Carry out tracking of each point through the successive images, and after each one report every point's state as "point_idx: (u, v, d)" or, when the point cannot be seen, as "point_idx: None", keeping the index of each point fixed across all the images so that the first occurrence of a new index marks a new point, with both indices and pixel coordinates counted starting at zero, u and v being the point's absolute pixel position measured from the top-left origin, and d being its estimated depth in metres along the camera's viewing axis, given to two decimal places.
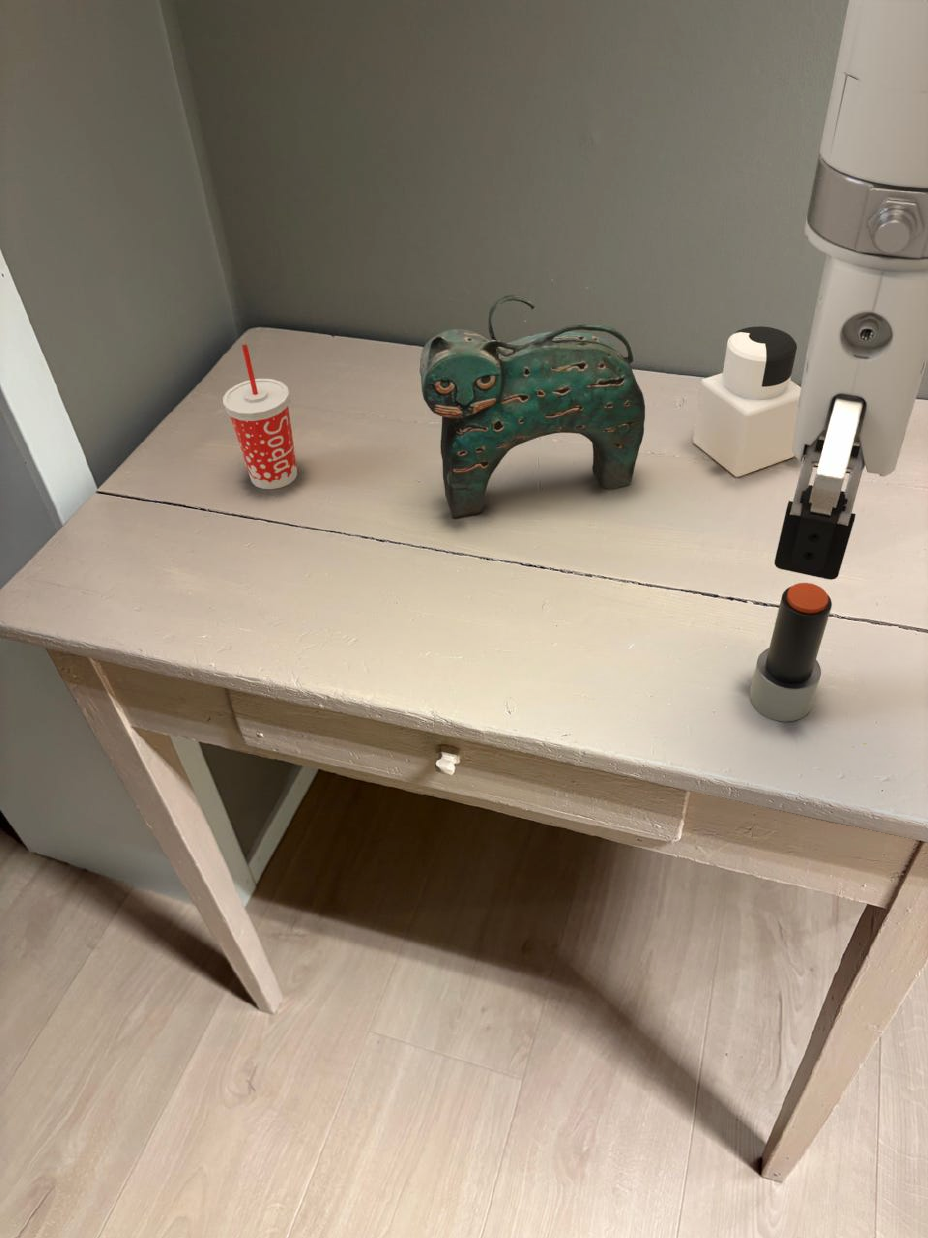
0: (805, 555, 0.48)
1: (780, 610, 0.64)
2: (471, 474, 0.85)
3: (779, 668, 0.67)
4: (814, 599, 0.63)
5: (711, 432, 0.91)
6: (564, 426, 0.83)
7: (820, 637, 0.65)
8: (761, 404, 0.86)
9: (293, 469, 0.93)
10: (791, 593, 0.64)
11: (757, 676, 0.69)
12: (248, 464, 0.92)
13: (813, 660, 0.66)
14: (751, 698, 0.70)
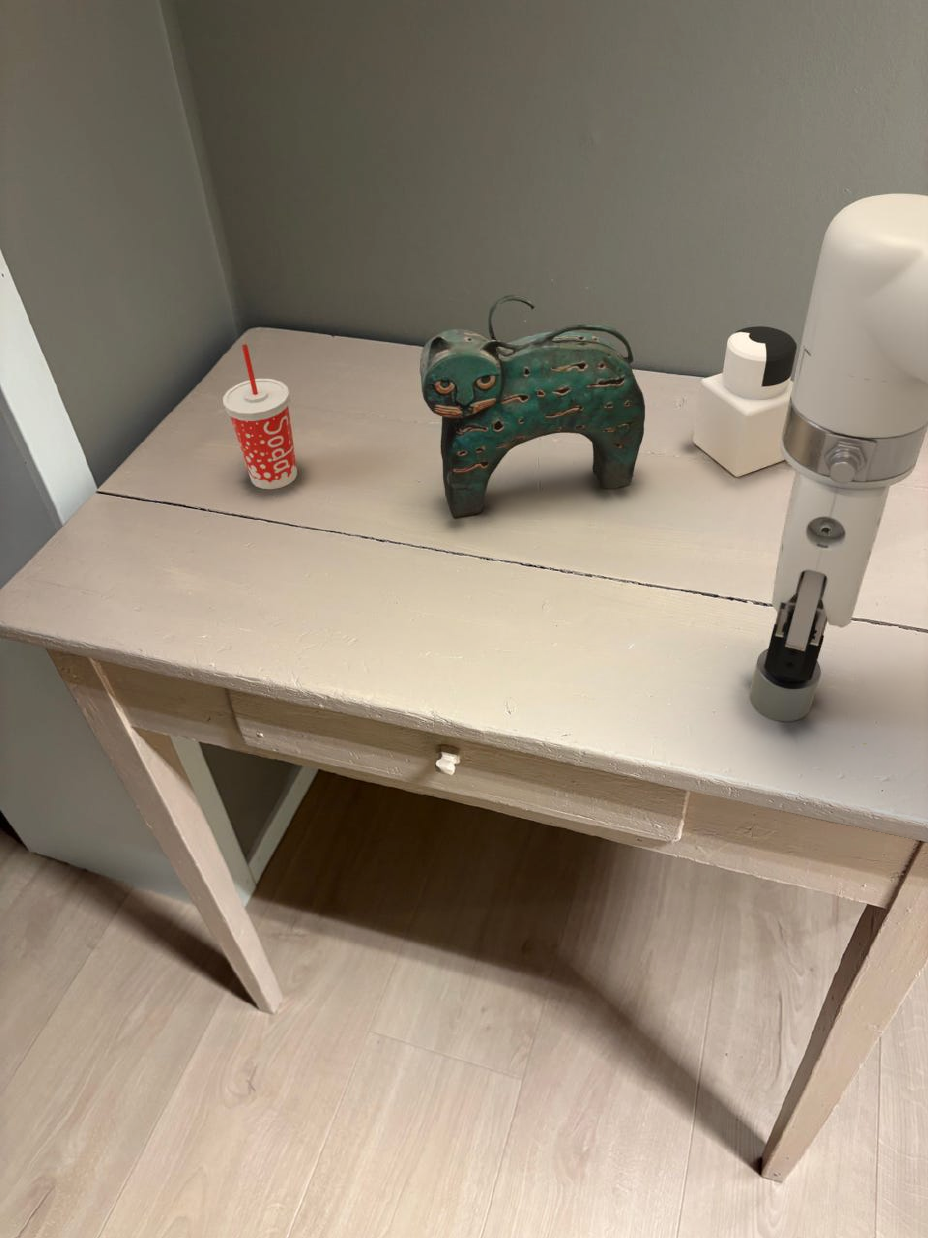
0: (787, 664, 0.64)
1: (780, 610, 0.64)
2: (471, 474, 0.85)
3: None
4: None
5: (711, 431, 0.91)
6: (564, 426, 0.83)
7: None
8: (761, 404, 0.86)
9: (293, 469, 0.93)
10: None
11: (757, 676, 0.69)
12: (248, 464, 0.92)
13: None
14: (751, 698, 0.70)
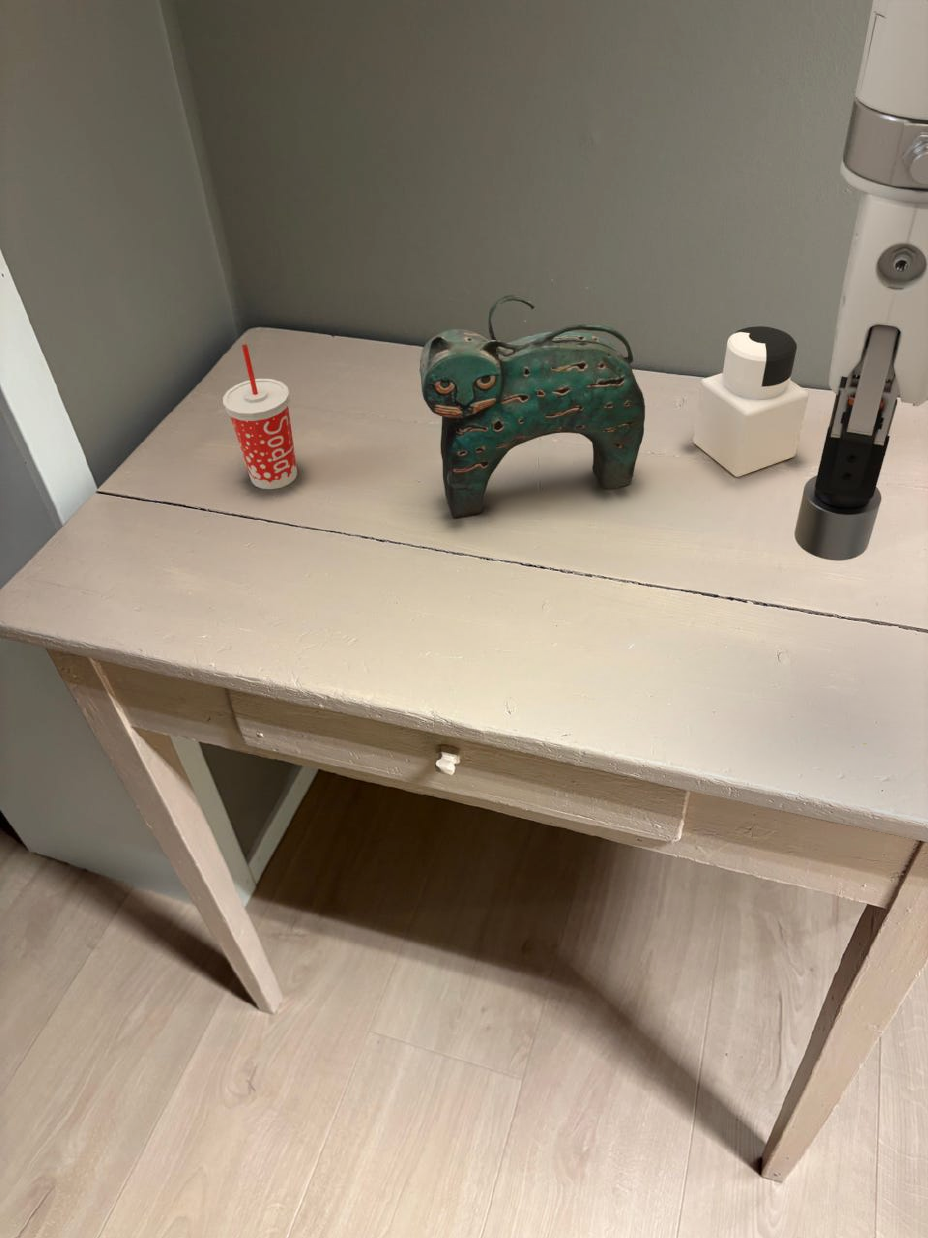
0: (844, 476, 0.53)
1: (834, 412, 0.54)
2: (471, 474, 0.85)
3: None
4: None
5: (711, 431, 0.91)
6: (564, 426, 0.83)
7: None
8: (761, 404, 0.86)
9: (293, 469, 0.93)
10: None
11: (804, 505, 0.58)
12: (248, 464, 0.92)
13: None
14: (797, 537, 0.60)
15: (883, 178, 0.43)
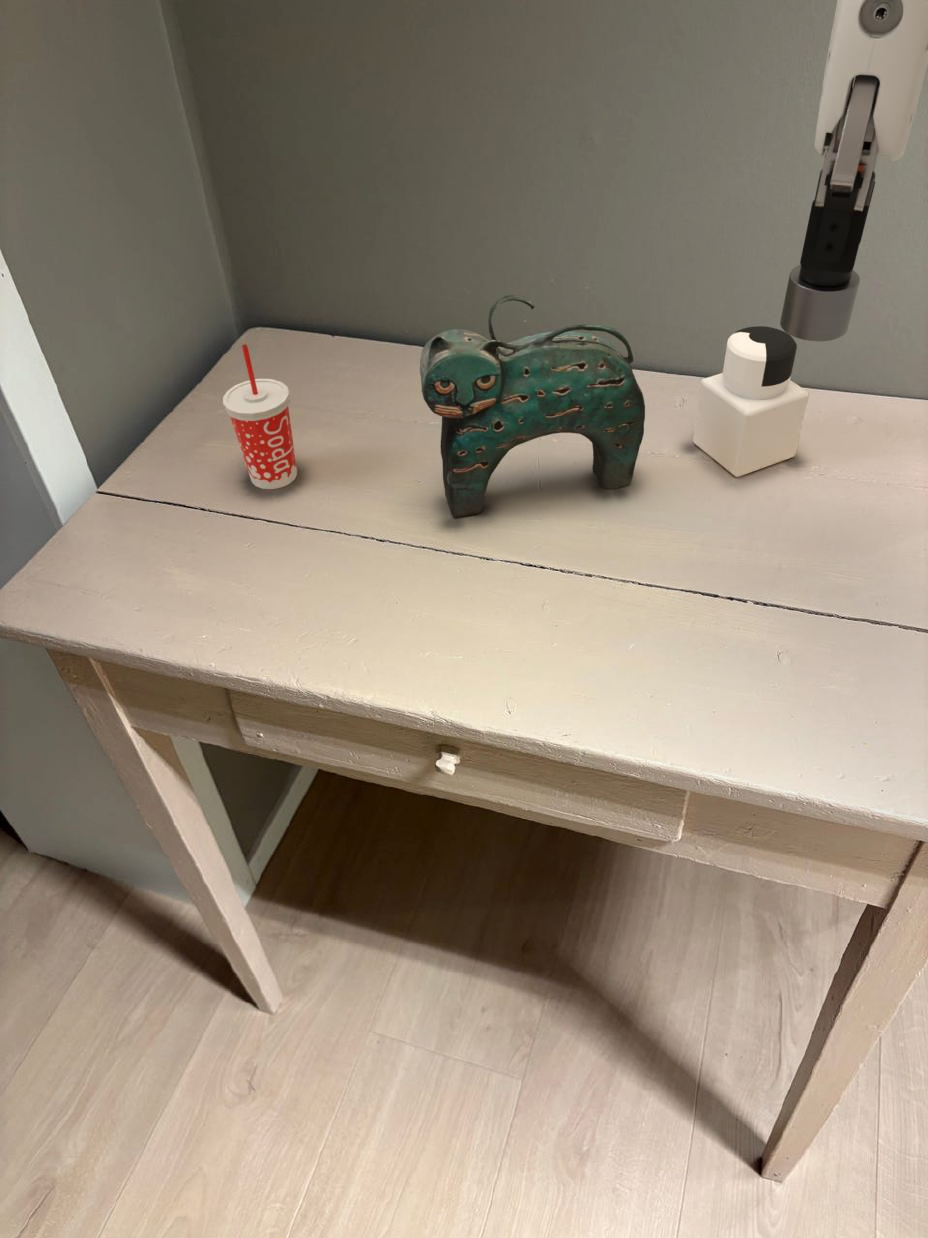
0: (826, 247, 0.59)
1: (818, 188, 0.59)
2: (471, 474, 0.85)
3: None
4: None
5: (711, 431, 0.91)
6: (564, 426, 0.83)
7: None
8: (761, 404, 0.86)
9: (293, 469, 0.93)
10: None
11: (790, 288, 0.63)
12: (248, 464, 0.92)
13: None
14: (782, 323, 0.65)
15: None
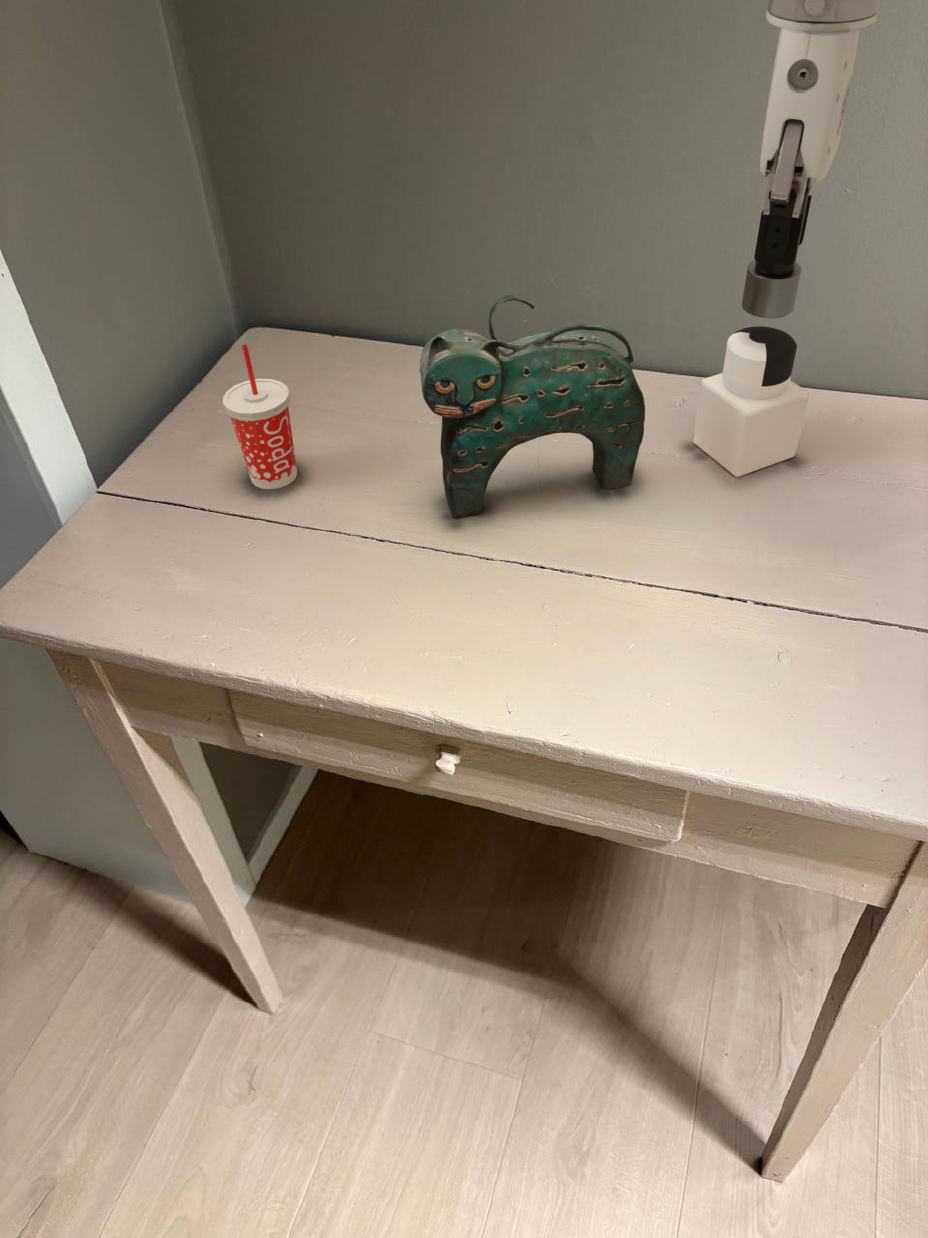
0: (773, 245, 0.77)
1: None
2: (471, 474, 0.85)
3: None
4: (794, 184, 0.76)
5: (711, 431, 0.91)
6: (564, 426, 0.83)
7: None
8: (761, 404, 0.86)
9: (293, 469, 0.93)
10: None
11: (747, 277, 0.81)
12: (248, 464, 0.92)
13: None
14: (743, 304, 0.83)
15: (790, 16, 0.66)
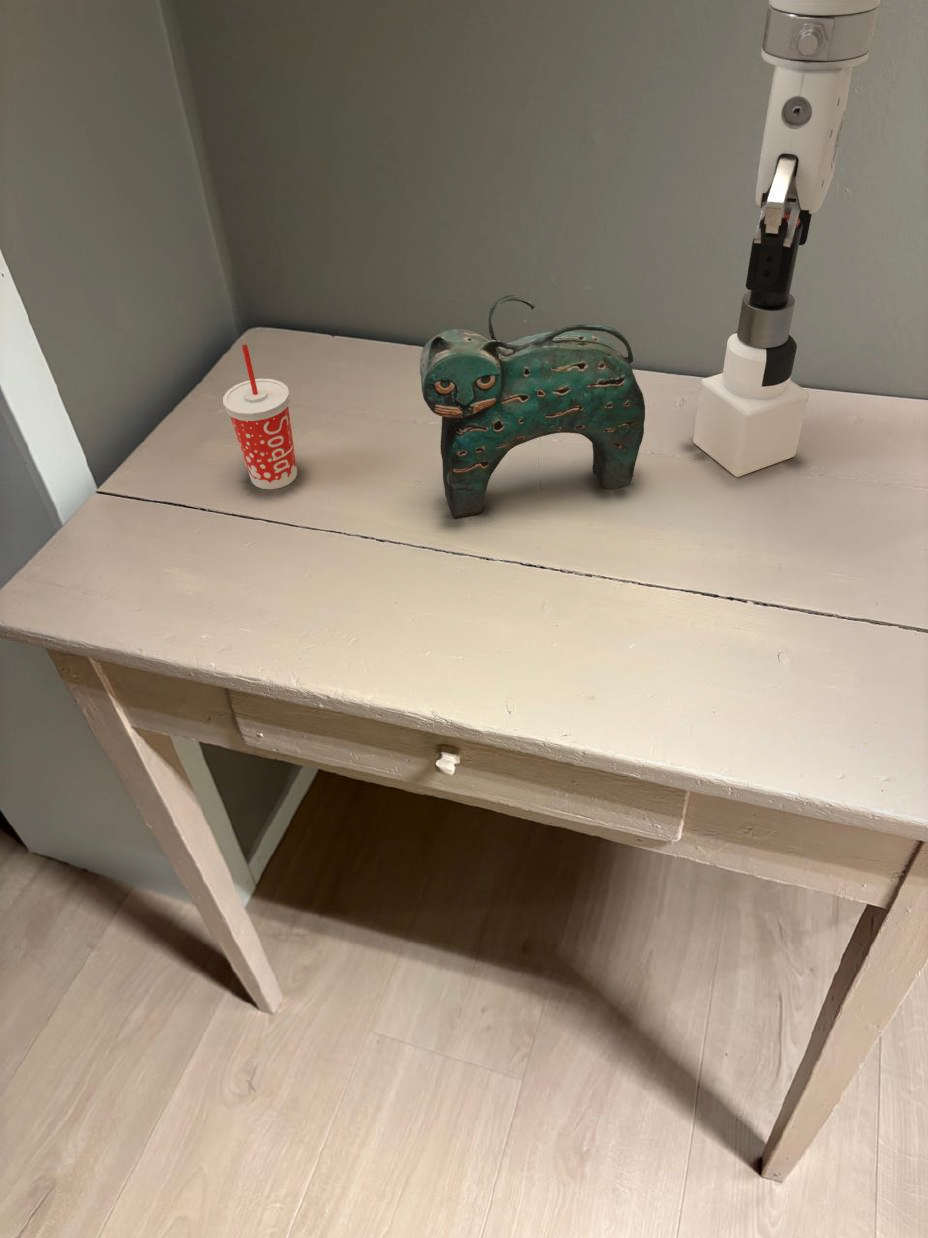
0: (764, 274, 0.76)
1: None
2: (471, 474, 0.85)
3: (760, 293, 0.81)
4: (788, 220, 0.78)
5: (711, 431, 0.91)
6: (564, 426, 0.83)
7: (793, 257, 0.79)
8: (761, 404, 0.86)
9: (293, 469, 0.93)
10: None
11: (743, 308, 0.83)
12: (248, 464, 0.92)
13: (788, 283, 0.81)
14: (738, 334, 0.85)
15: (784, 54, 0.68)
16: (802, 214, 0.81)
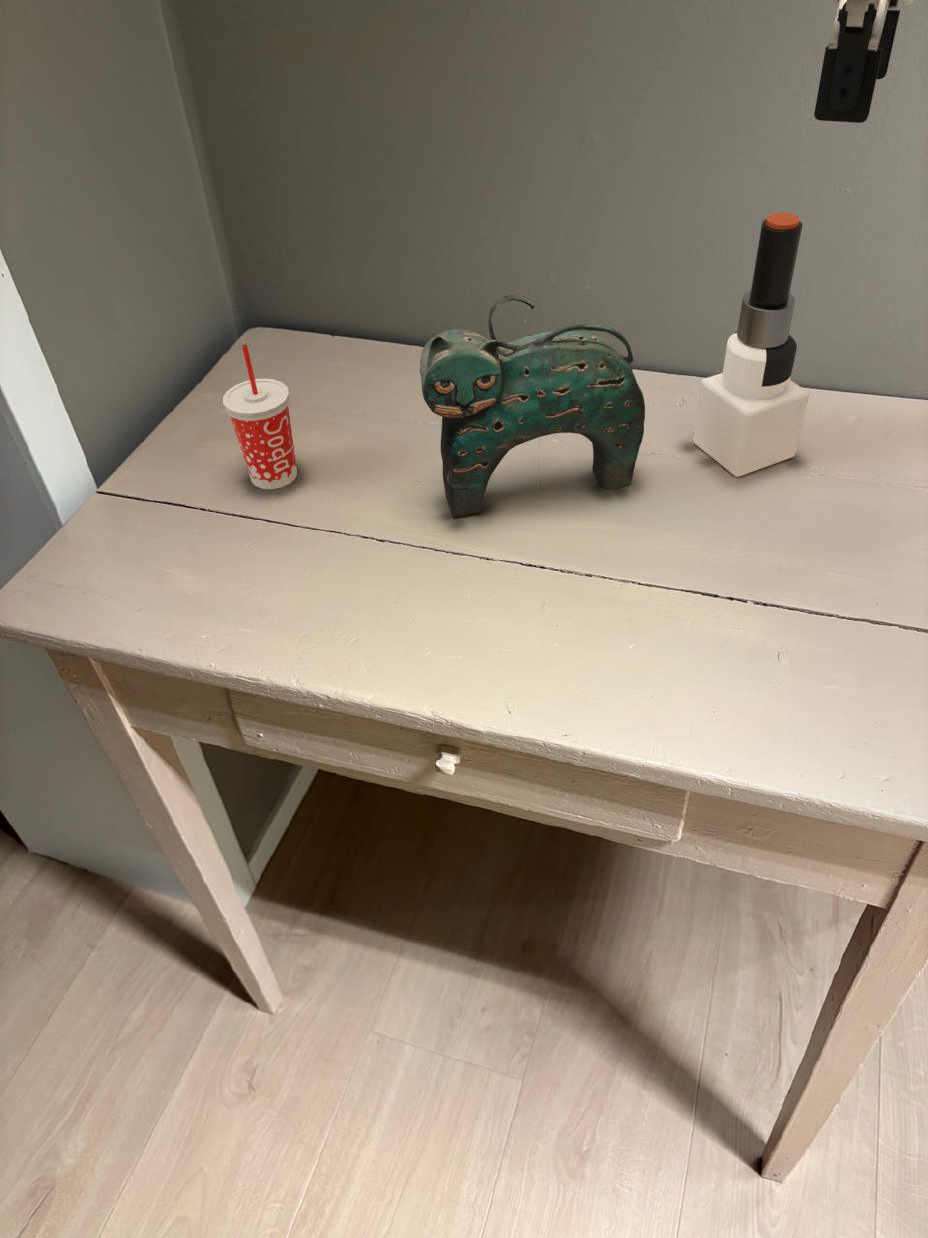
0: (840, 93, 0.58)
1: (760, 235, 0.79)
2: (471, 474, 0.85)
3: (760, 293, 0.81)
4: (788, 220, 0.78)
5: (711, 431, 0.91)
6: (564, 426, 0.83)
7: (793, 257, 0.79)
8: (761, 404, 0.86)
9: (293, 469, 0.93)
10: (769, 217, 0.78)
11: (742, 308, 0.83)
12: (248, 464, 0.92)
13: (788, 283, 0.81)
14: (738, 334, 0.85)
15: None
16: (883, 34, 0.64)
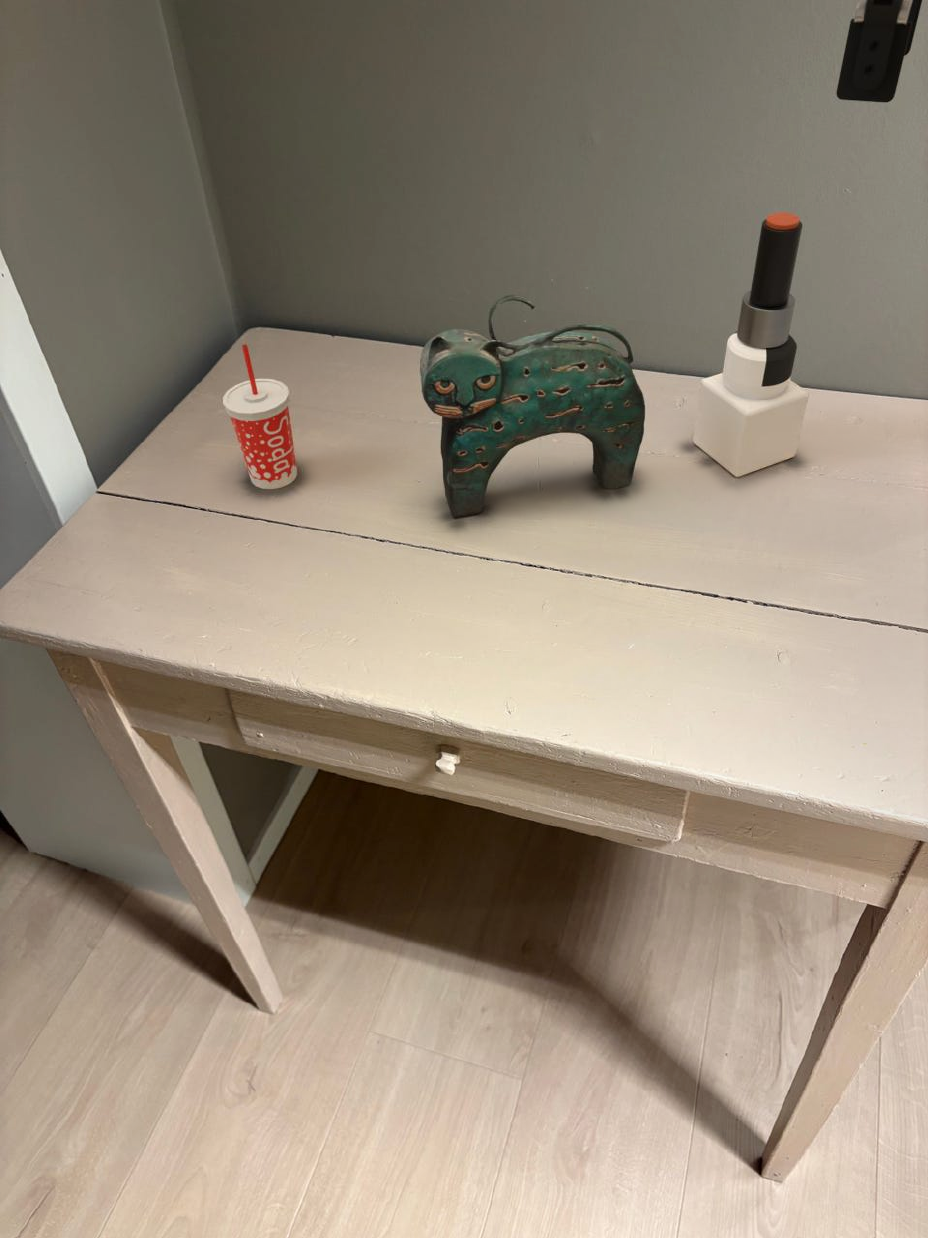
0: (866, 70, 0.54)
1: (760, 235, 0.79)
2: (471, 474, 0.85)
3: (760, 293, 0.81)
4: (788, 220, 0.78)
5: (711, 431, 0.91)
6: (564, 426, 0.83)
7: (793, 257, 0.79)
8: (761, 404, 0.86)
9: (293, 469, 0.93)
10: (769, 217, 0.78)
11: (742, 308, 0.83)
12: (248, 464, 0.92)
13: (788, 283, 0.81)
14: (738, 334, 0.85)
15: None
16: None
